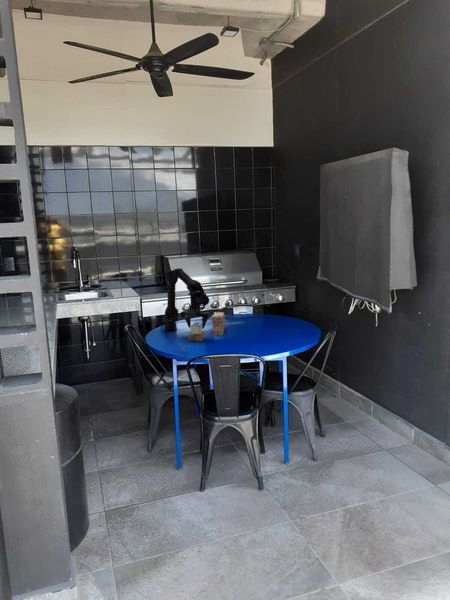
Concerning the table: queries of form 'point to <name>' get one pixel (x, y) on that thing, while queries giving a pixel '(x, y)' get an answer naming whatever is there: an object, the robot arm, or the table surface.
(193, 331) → the cream cube
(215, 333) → the stack of blocks
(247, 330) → the table surface
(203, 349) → the table surface
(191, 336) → the walnut block
